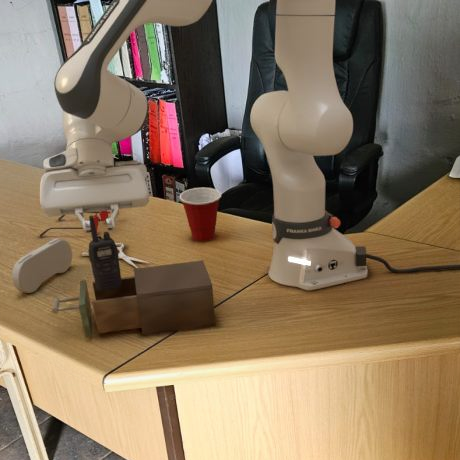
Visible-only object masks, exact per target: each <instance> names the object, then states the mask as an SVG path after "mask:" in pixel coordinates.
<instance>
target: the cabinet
mask: <svg viewBox="0 0 460 460" xmlns="http://www.w3.org/2000/svg"><path fill="white" fill-rule="evenodd" d="M133 276H134V277H135V285H136V293H137V300H138V307H139V313H140V320H141V335H142V336H143V337H144V336H151V335H159V334H166V333H174V332H181V331H187V330H189V331H190V330H196V329H203V328H211V327H216V313H215V299H214V289H213V283H212V281H211V277H210V275H209V272H208V269H207V267H206V263H205V262H204V259H202V260H194V261H187V262H179V263H169V264H161V265H153V266H146V267H138V268H136V267H135V268H133Z"/></svg>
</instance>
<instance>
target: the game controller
mask: <svg viewBox="0 0 460 460" xmlns="http://www.w3.org/2000/svg"><path fill="white" fill-rule="evenodd" d="M72 261H73V250H72V246H71V245H70V243H69V242H68V241H67V240H65V239H62V238H59V237H57V238H54V239H51V240H49V241H48V242H47V243H44V244H43V245H41V246H39V247H38V248H36V249H34V250H32V251H30V252H29V253H27V254H25V255H23V256H22V257H20V258H19V259H17V261H15V263H14V266H13V268H12V273H11V280H12V283H13V285H14V288H15V289H16V290H17V291H18V292H21V293H27V294H32V293H35V292H36V291H37V290H38V289H39V288H40V286H41V284H42V283H43V282H45V281H47V280H48V279H49V278H51V277H53V276H55V275H56V274H64V273H65V272H67V271H68V270H69V268H70V267H71V264H72Z"/></svg>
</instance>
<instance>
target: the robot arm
mask: <svg viewBox="0 0 460 460" xmlns="http://www.w3.org/2000/svg"><path fill="white" fill-rule="evenodd" d="M212 2H213V0H112V1H111V3H110V4H109V5H108V7H107V8H106V9H105V11H104V12H103V14H102V15H101V16H100V17H99V19H98V21H97V22H96V23H95V25H93V27H92V29H91V30H90V31H89V33H88V34H87V36H86V37H85V39H84V40H83V41H82V43H81V44H80V45H79V47H78V48H77V49H76V50H75V51H74V52H73V53H71V55H69V56H68V58H67V59H66V60H65V61H64V62H63V63H62V64H61V66H59V68H58V70H57V72H56V74H55V77H54V81H53V87H54V93H55V97H56V99H57V102H58V104H59V106H60V108H61V109H62V113H61V116H62V117H61V118H62V127H63V129H62V130H63V134H64V137H65V140H66V146H65V150H64V151H61V152H60V153H57V154H55V155H52V156H49V157H47V158H45V159H44V160H43V162H42V164H43V165H42V166H43V172H44V174H43V175H42V176H41V178H40V184H39V204H40V208H41V211H42V212H43V214H45V216H46V217H49V218H50V217H52V218H53V217H61V216H63V215H65V216H69V215H75V217H76V219H77V220H78V222H79V223H80V224H81V225H82V228H83V229H82V230H83V233H84V234H90V233H91V227H90V220H86V219H85V214H89V213H88V212H98V211H99V212H100V211H107V212H108V211H110V212H111V215H110V217H108V219H106V221H105V222H106V228H107V232H110V231H116V222H117V219H118V217H119V216H120V210H123V209H132V208H142V207H147V205H148V204H149V202H150V194H149V189H148V185H147V181H146V179H147V178H148V170H147V166H146V165H145V164H144V162H141V161H138V160H137V159H136V160H135V159H134V160H128V161H125V160H123V161H115V157H114V151H113V143H119V142H122V141H124V140H127V139H128V138H131V137H133V136H134V135H136V134H138V133H139V132H140V131H141V130H142V129H143V128H144V127H145V125H146V123H147V120H148V115H149V102H148V98H147V95H146V93H144V91H143V90H141V89H140V88H139V87H137V86H136V85H134V84H132V83H130V82H129V81H127V80H125V79H124V78H122V77H120V76H118V75H117V74H115V73H114V72H112V71H111V70H109V69H108V66H109V65H110V63H111V61H113V59H114V58H115V56H116V55H117V53H118V52H119V51H120V50H121V48H122V46H123V45H124V44H125V43H126V41H127V40H128V38H129V37H130V36H131V34H132V33H134V32H135V30H136V29H137V28H139V27H141V26H142V25H146V24H159V25H165V26H170V27H184V26H189V25H191V24H195V23H196V22H198V21H199V20H200V19H202V17H203V16H204V15H205V14H206V12H207V11H208V9H209V8H210V6H211V5H212ZM275 12H276V13H275V32H274V33H275V35H274V36H275V37H274V38H275V39H274V59H275V63H276V65H277V66H278V68H279V69H280V70H281V72H282V74H283V77H284V79H285V82H286V86H287V87H286V88H287V90H274V91H269V92H265V93H263V94H261V95H259V97H258V98H257V99H256V100H255V101H254V103H253V104H252V107H251V110H250V115H249V116H250V117H249V120H250V126H251V128H252V131H253V132H254V133H255V135H256V136H257V138H258V139H259V141H260V143H261V145H262V148H263V150H264V153H265V156H266V159H267V163H268V166H269V171H270V174H271V179H272V190H273V191H272V192H273V211H274V212H273V214H272V218H271V235H272V236H271V237H272V240H273V247H272V255H271V262H270V266H269V270H268V273H267V274H268V278H270V279H271V280H272V281H273V282H276V283H277V284H280V285H283V286H288V287H296V288H300V289H301V290H305V291H314V290H319V289H323V288H329V287H332V286H336V285H341V284H344V283H345V284H346V283H350V282H354V281H358V280H362V279H366V278H368V276H369V275H368V274H369V270H368V267H367V259H370V260H373V261H377V262H380V263H382V264H383V265H384V266H385V268H386V269H387V270H388V271H390V272H391V273H394V274H408V273H409V274H410V273H415V272H422V271H423V272H424V271H425V272H426V271H440V270H441V271H442V270H458V269H460V264H446V265H445V264H444V265H430V266H417V267H411V268H404V269H397V268H394V267H392V266H391V265H390V264H389V263H388V261H387V260H385V259H384V258H382V257H380V256H376V255H372V254H368V253H367V247H366V246H361V245H360V246H355V244H354V243H353V241H352V240H350V238H348V237H347V236H345V235H344V234H342V233H341V232H339V230H337V229H338V228H339V227H340V226H341V220H340V219H339V218H338V217H337V216H334V215H333V214H331V212H328V211H327V210H326V179H325V174H324V173H323V172H322V170H321V169H320V167H319V166H318V164H317V163H316V161H315V157H327V156H335V155H337V154H340V153H341V152H342V151H343V150H344V149H345V148H346V147H347V146H348V145H349V143H350V142H351V141H350V140H351V139H352V136H353V131H354V119H353V115H352V113H351V111H350V110H349V108H348V107H347V106H346V104H345V103H344V101H343V99H342V96H341V94H340V92H339V88H338V85H337V81H336V76H335V70H334V60H333V58H334V57H333V51H334V31H335V18H336V17H335V15H336V0H276V11H275Z"/></svg>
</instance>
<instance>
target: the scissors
mask: <svg viewBox="0 0 460 460" xmlns="http://www.w3.org/2000/svg"><path fill="white" fill-rule="evenodd" d="M115 244H116V246H117V250H118V251H119V252H118V259H122V260H123V261H125V262H126V263H127V264H129V265H131V266H133V267H134V268H135V269H136V268H139V267H138V266H137V265H136V264H135V263H134V262H133V261H135V262H141V263H146V264H147V263H148V264H150V262H149V261H145V260H142V259H139V258H135V257H132V256H131V257H130V256H128V255H127V254H125V253H124V251H123V250H124V249H125V244H124V243H123V242H115ZM81 256H83V257H89V252H82V253H81Z"/></svg>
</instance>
